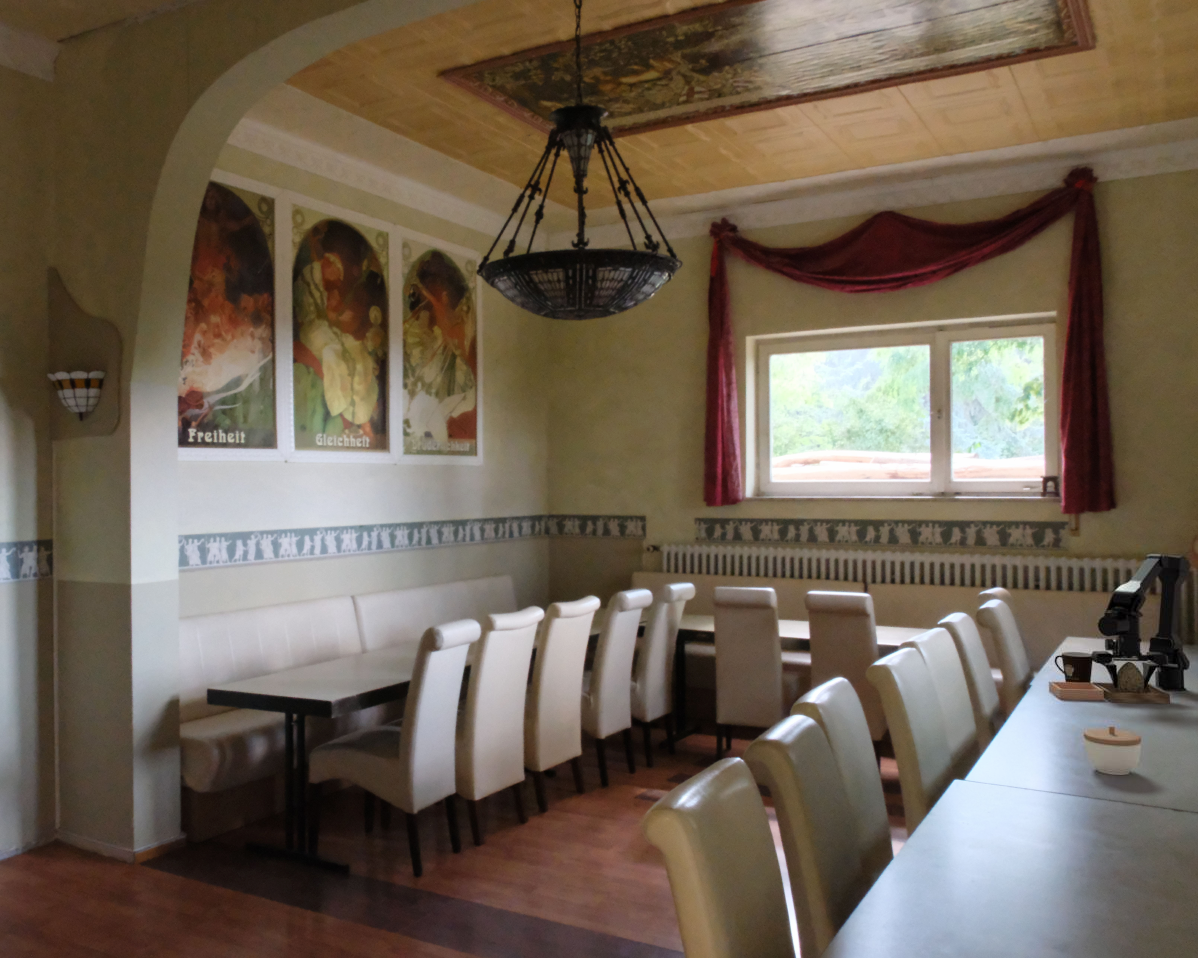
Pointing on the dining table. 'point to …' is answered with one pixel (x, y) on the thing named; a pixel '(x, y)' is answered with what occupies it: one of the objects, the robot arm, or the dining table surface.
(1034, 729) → the dining table surface
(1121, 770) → the lidded jar
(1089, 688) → the terracotta dish
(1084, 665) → the coffee mug
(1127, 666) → the decorative egg
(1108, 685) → the tray
